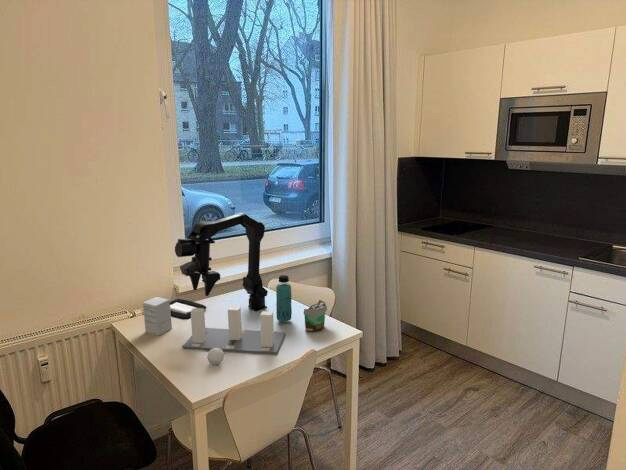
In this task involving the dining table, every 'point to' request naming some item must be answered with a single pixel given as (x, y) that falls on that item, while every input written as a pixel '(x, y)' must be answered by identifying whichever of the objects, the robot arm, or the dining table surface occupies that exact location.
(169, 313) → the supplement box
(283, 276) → the beverage bottle
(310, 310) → the food container
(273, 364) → the dining table surface
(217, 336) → the three pillar stand
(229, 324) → the block
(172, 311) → the light switch
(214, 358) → the white sphere
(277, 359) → the dining table surface
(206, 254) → the robot arm
